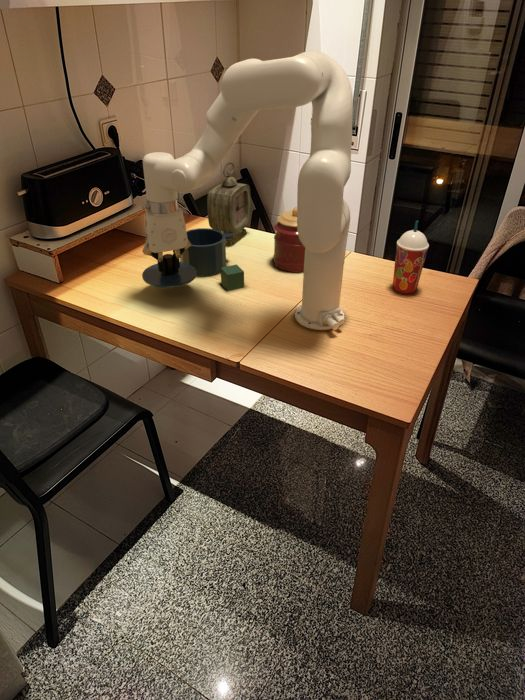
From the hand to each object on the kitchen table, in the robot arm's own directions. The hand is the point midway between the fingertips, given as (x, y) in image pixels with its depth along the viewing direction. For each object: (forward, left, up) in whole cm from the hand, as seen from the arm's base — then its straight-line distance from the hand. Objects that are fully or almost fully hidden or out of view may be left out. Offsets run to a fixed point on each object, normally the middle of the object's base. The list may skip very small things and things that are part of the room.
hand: (169, 271), depth 140 cm
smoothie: (-26, -60, -7) cm, 66 cm away
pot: (+12, -14, -7) cm, 20 cm away
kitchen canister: (+2, -40, -7) cm, 41 cm away
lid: (0, 0, -1) cm, 1 cm away
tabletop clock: (+29, -30, -7) cm, 42 cm away
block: (-3, -17, -7) cm, 19 cm away
